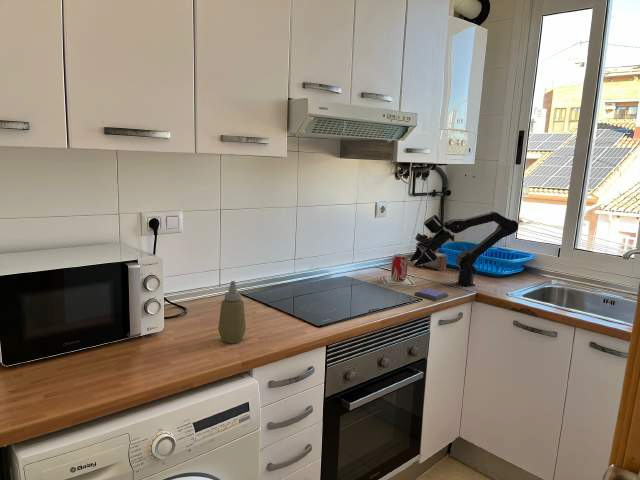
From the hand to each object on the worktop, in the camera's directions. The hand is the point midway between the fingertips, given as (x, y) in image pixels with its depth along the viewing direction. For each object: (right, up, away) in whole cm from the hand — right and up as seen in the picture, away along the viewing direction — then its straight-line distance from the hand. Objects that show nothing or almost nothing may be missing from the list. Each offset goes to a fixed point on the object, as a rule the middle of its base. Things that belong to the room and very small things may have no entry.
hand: (412, 263), depth 217 cm
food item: (+18, -4, +35) cm, 39 cm away
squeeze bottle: (-69, -19, -78) cm, 106 cm away
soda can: (-6, -8, +2) cm, 11 cm away
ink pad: (+4, -13, -20) cm, 24 cm away
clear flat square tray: (-7, -9, +1) cm, 11 cm away
